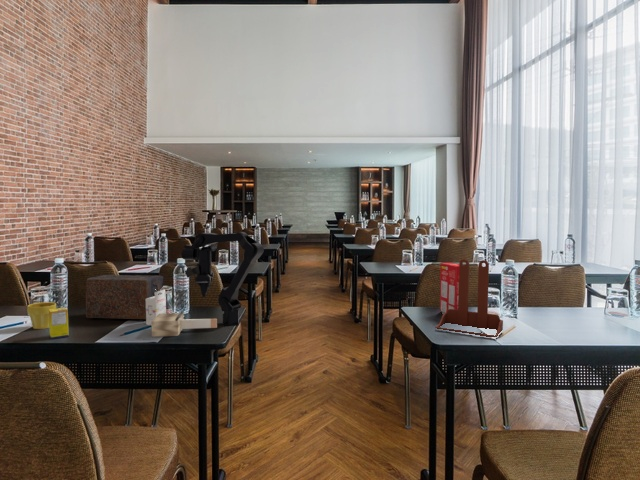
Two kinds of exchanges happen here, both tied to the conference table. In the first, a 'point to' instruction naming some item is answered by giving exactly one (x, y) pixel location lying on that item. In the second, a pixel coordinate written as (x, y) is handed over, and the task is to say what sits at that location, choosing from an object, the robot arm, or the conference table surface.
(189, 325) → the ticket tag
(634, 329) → the conference table surface
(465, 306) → the hanging shelf
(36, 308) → the plant pot
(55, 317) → the supplement box
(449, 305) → the food packaging
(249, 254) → the robot arm
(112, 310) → the decorative box
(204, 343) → the conference table surface
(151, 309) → the ink cartridge box
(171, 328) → the tan box with rod
